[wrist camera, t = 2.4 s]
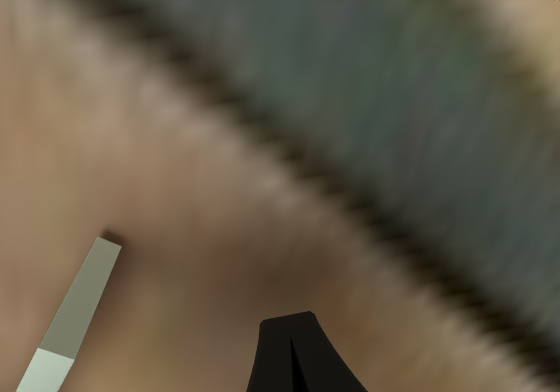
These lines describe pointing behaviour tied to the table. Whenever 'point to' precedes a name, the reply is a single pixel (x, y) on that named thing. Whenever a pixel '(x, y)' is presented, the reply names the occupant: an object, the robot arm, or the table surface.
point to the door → (71, 321)
